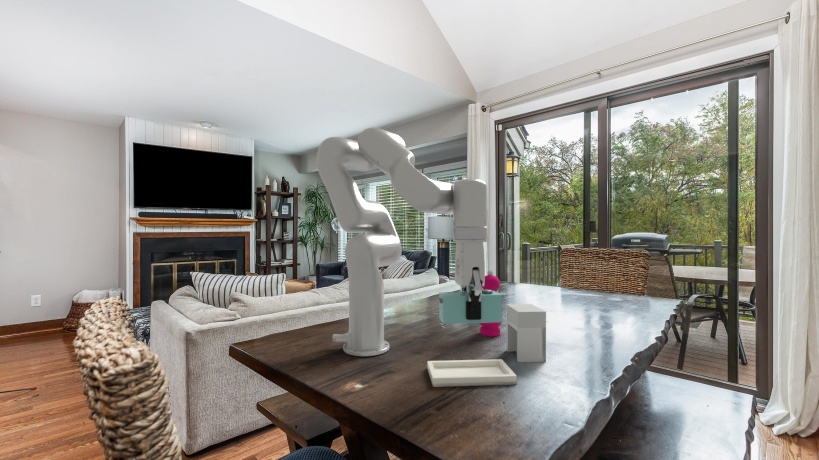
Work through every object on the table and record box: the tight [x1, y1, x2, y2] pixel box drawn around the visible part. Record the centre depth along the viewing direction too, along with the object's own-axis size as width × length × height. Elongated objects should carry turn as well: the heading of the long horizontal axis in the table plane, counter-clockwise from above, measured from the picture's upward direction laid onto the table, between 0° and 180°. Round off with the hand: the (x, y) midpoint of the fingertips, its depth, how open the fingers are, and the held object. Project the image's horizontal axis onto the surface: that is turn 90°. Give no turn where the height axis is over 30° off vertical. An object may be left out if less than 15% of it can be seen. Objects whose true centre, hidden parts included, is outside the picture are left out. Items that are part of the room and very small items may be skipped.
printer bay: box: [505, 303, 547, 363], centre depth 97 cm, size 7×9×12 cm
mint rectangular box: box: [436, 289, 503, 325], centre depth 83 cm, size 14×5×7 cm, turn 95°
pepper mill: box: [479, 269, 503, 338], centre depth 116 cm, size 7×7×20 cm
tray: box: [426, 358, 518, 388], centre depth 83 cm, size 18×10×2 cm, turn 94°
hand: (470, 315), depth 83 cm, fingers closed on mint rectangular box, 5 cm apart
